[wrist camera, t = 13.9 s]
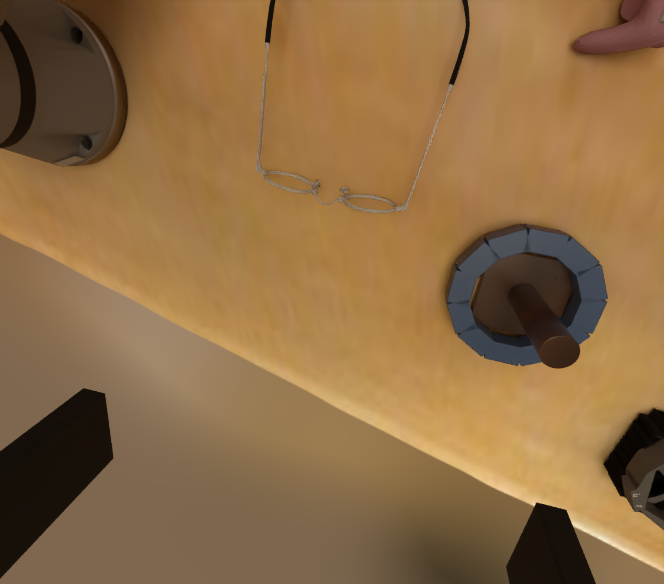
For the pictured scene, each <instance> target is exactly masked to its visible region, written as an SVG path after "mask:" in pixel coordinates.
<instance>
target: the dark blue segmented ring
mask: <svg viewBox="0 0 664 584" xmlns="http://www.w3.org/2000/svg"><path fill="white" fill-rule="evenodd" d="M484 237H485V240H484V239H483V238H482V237H480V238H479V239H478V240H477V241H476V242H475V243H474V244H473V245H472V246H471V247H470V248H469V249H468V250H467V251H466V252H465V253H464V254H463V255H462V256H461V257H460V258H459V259H458V260H456V263H457V264H454V266H453V270H452V273H451V277H450V280H449V284H448V287H447V291H446V302H447V307H448V310H449V313H450V317H451V320H452V323H453V326H454V330H455V333H456V334H457V335H458V337H459V338H460V339H462V340H463V341H464V342H465V343H466V344H467V345H469V346H470V347H471V348H472V349H473V350H474V351H475V352H477V353H478V354H479V355H480V356H483V355H484V358H486V359H490V360H495V361H499V362H503V363H507V364H511V365H516V366H518V364H519V363H520V365H521V366H525V365H530V364H535V363H540V362H542V361H541V359H540V358H539V356H538V354H537V352H536V350H535V348H534V347H533V345H532V343H531V341H530V339H529V337H528V336H527V335H525V336H520V337H511V336H507V335H502V334H498V333H494V332H491V331H489V330H488V329H487V328H486V327H485V326H484V325H483V324H481V323H480V322H479V321H478V320H477V319H476V318H475V317H473V313H472V310H471V307H470V303H469V302H470V299H471V296H472V293H473V290H474V286H475V283H476V280H477V278H478V277H479V276H481V275H482V274H483V273H484V272H485V271H486V270H487V269H488V268H489V267H490V266H492V265H493V264H494V263H495V262H496V261H497V260H499V259H502V258H506V257H509V256H513V255H517V254H520V253H524V252H531V253H536V254H541V255H546V256H551V257H556V258H557V259H558V260H559V261H560V262H561V263H562V264H563V265H564V266H566V267H567V268H568V271H569V276H570V280H571V285H572V290H573V294H572V296H571V299H570V301H569V303H568V306H567V308H566V310H565V313H564V315H563V316H562V317H561V318H559V320H560V321H561V322H562V324H563V325H564V326H565V327H566V329H567V330H568V331H569V333H570V334H571V335H572V336H573V338H574V339H575V340H576V342H577V343H578V345H579V344H581V343H582V342H583V341H585V340H586V339H587V338H589V337H590V335H589V334H588V333H591V334H592V333H593V332H594V330H595V327H596V325H597V323H598V321H599V319H600V317H601V315H602V312H603V310H604V308H605V306H606V304H607V301H605V299H608V297H607V291H606V286H605V281H604V275H603V270H602V265H600V264H599V261H598V260H597V259H596V258H595V257H594V256H593V255H592V254H591V253H589V252H588V251H587V250H586V249H585V248H584V247H583V246H582V245H581V244H580V243H579V242H577V241H576V240H575V239H574V238H573V237H571V236H570V235H568V234H566V233H564V232H562V231H560V230H555V229H549V228H544V227H539V226H533V225H528V224H524V226H522V225H521V224H519V225H516V226H513V227H509V228H506V229H503V230H499V231H496V232H493V233H490V234H486V235H484Z"/></svg>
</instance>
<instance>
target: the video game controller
mask: <svg viewBox="0 0 664 584" xmlns="http://www.w3.org/2000/svg"><path fill="white" fill-rule="evenodd" d="M620 13H621V16H622V17H623V18H624V19H626V20H628V21H629V22H627V23H624V24H621V25H618V26H615V27H611V28H606V29H602V30H597V31H592V32H590V33H587V34H585V35H583V36H581V37H580V38H578V39H577V40H576V41H575V42H574V48H575V49H576V50H578V51H580V52H582V53H589V54H606V53H618V52H624V51H630V50H636V49H641V48H647V47H652V48H660V47H664V0H624V1H623V3H622V6H621V11H620Z"/></svg>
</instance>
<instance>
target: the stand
mask: <svg viewBox="0 0 664 584" xmlns="http://www.w3.org/2000/svg"><path fill="white" fill-rule="evenodd" d="M571 293H572V285H571V280H570V276H569V271H568V268H567V267H566V266H564V265H563V264H562V263H561V262H560V261H559V260H558V259H557V258H554V257H548V256H543V255H538V254H532V253H527V252H524V253H520V254H517V255H513V256H509V257H506V258H502V259H499V260H497V261H496V262H495V263H494V264H493V265H492V266H490V267H489V268H488V269H487V270H486V271H485V272H484V273H483V274H482V275H481V278H480V281H479V284H478V288H477V291H476V294H475V297H474V301H473V304H472V307H471V310H472V313H473V317H475V318H476V319H477V320H478V321H479V322H480V323H481V324H483V325H484V326H485V327H486V328H491V329H496V330H500V331H505V332H509V333H514V334H519V335H523V336H525V335H527V336H528V337H529V339H530V341H531V343H532V345H533V347H534V348H535V350H536V352H537V354H538V356H539V358H540V359H541V361H542V362H543V363H544V364H545V365H547V366H549V367H552V368H565V367H568V366H570V365H572V364H573V363H575V362H576V360H577V359H578V357H579V355H580V347H579V345H578V343H577V342H576V340H575V339H574V338H573V336H572V335H571V334H570V333H569V331H568V330H567V329H566V327H565V326H564V325H563V324H562V322H561V321H560V320H559V318H561V317H562V315H563V312H564V310H565V307H566V305H567V303H568V300H569V298H570V295H571Z"/></svg>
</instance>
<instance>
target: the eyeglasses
mask: <svg viewBox="0 0 664 584" xmlns="http://www.w3.org/2000/svg"><path fill="white" fill-rule="evenodd" d="M462 1H463V5H464V11H465V18H466V29H465V34H464V38H463V42H462V45H461V49H460V52H459V55H458V58H457V61H456V64H455V67H454V70H453V73H452V76H451V79H450V82H449V86H448V91H447V95H446V97H445V100H444V103H443V106H442V108H441V111H440V114H439V116H438V119H437V122H436V125H435V127H434V130H433V133H432V136H431V138H430V141H429V144H428V146H427V149H426V152H425V155H424V157H423V160H422V163H421V165H420V168H419V171H418V174H417V176H416V179H415V182H414V185H413V187H412V190H411V193H410V195H409V198H408V201H406V202H405V203H404V205H403V206H402V205H401V206H399V207H397V206H396V204H395V203H394V202H392V201H390V200H387V199H385V198H381V197H377V196H374V195H366V194H348V195H345V194H346V193H348V191H349V190H350V189H349V188H348V187H342V188H341V189H340V191H341V192H343V193H344V196H342V197H339V198H337V199H336V200H335V201H337V200H338V202H344V203H345V204H346V205H347V206H349V207H351V208H354V209H357V210H360V211H365V212H371V213H390V212H393V211H398V212H400V211H402V210H404V211H406V209H407V206H408V203H409V201H410V198H411V195H412V192H413V190H414V187H415V184H416V182H417V179H418V176H419V174H420V171H421V168H422V165H423V163H424V160H425V157H426V155H427V152H428V149H429V146H430V144H431V141H432V138H433V136H434V133H435V130H436V127H437V125H438V122H439V119H440V117H441V114H442V111H443V108H444V106H445V103H446V100H447V98H448V95H449V93H450V91H451V89H452V87H453V85H454V83H455V80H456V77H457V74H458V71H459V68H460V65H461V62H462V59H463V55H464V52H465V48H466V44H467V40H468V35H469V27H470V21H469V7H468V0H462ZM274 5H275V0H271V1H270V5H269V13H268V20H267V28H266V37H265V47H266V59H265V73H264V78H263V91H262V103H261V116H260V129H259V142H258V155H257V167H256V171H259V172H260V174H261V175H264V179H265V180H266V181H267V182H268V183H270V184H272V185H274V186H276V187H278V188H281V189H284V190H287V191H291V192H296V193H312V195H315V197H316V198H317V200H318V201H319V202H320V203H321V204H323V205H330V204H332V203H334V202H335V201H333V202H331V203H327V204H326V203H322V202H321V201H320V200H319V199H318V197H317V192H318V187H317V186H319V187H320V186H321V183H320V181H319V180H316V181H317V182H316V183H313V182H312V181H310V180H308V179H306V178H303V177H301V176H299V175H294V174H291V173H287V172H282V171H268V172H266V171H265V170H264V169H263V168H262V167H261V163H260V155H261V142H262V129H263V116H264V103H265V89H266V76H267V75H266V68H267V55H268V49H269V45H270V38H271V28H272V19H273V12H274ZM268 174H282V175H287V176H291V177H295V178H296V179H299V180H302V181H304V182H306V183H308V184H309V185H311V186H312V188H313V189H311V190H297V189H292V188H288V187H284V186H282V185H279V184H277V183H274V182H273V181H271V180H269V179H268V178H267V177H266V175H268ZM314 188H315V189H316V190H315V189H314ZM356 197H362V198H371V199H377V200H381V201H384V202H387V203H389V204H391V205H393V206H394V208H393V209H389V210H373V209H366V208H362V207H358V206H355V205H352V204H350V203H348V202H347V201H346V200H347V199H349V198H356ZM344 198H345V199H344Z"/></svg>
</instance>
